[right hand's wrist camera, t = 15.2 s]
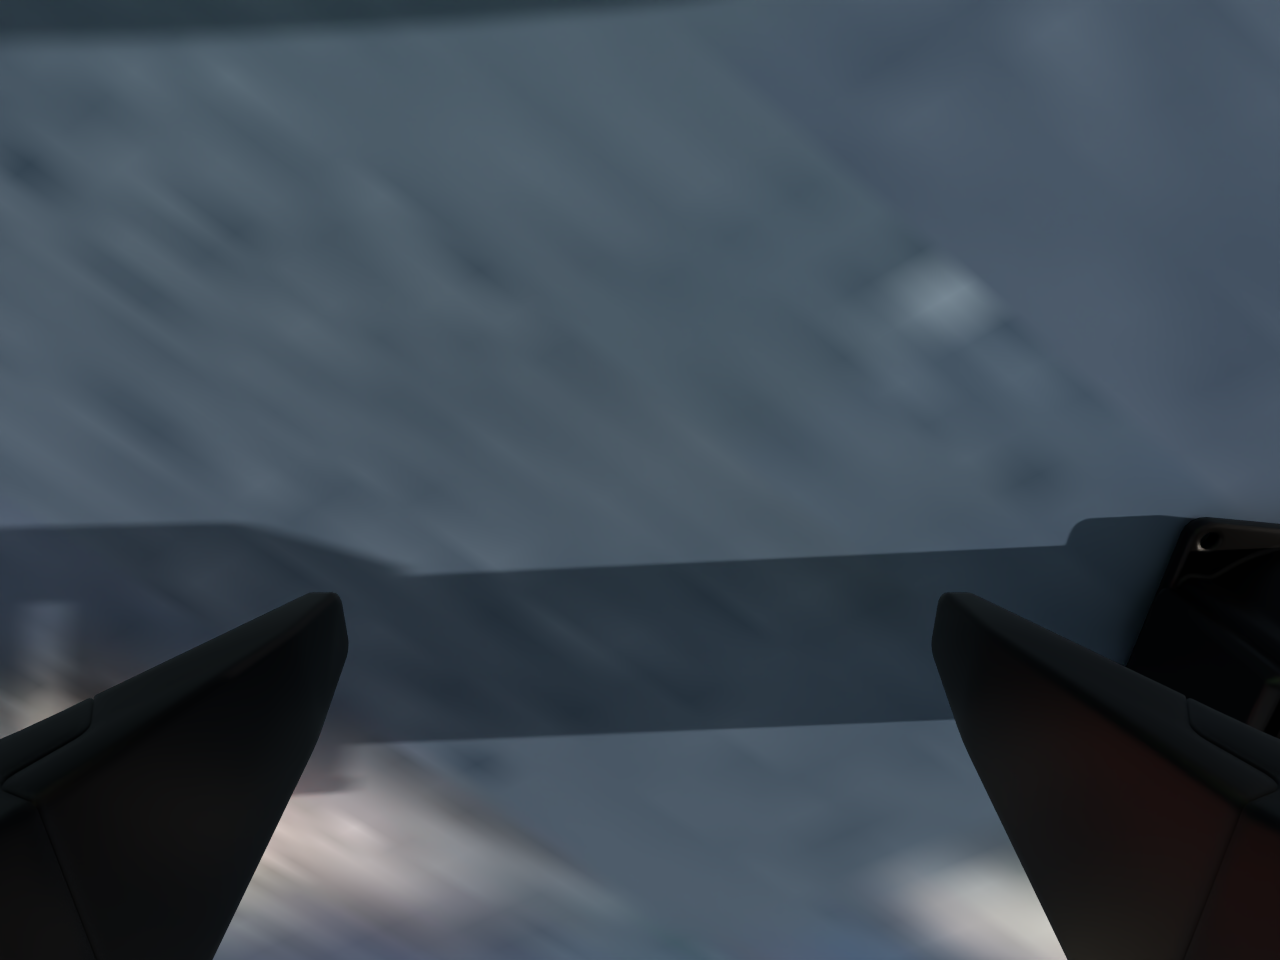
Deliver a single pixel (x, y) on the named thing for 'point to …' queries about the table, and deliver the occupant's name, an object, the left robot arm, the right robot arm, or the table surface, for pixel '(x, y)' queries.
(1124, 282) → the table surface
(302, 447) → the table surface
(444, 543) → the table surface
